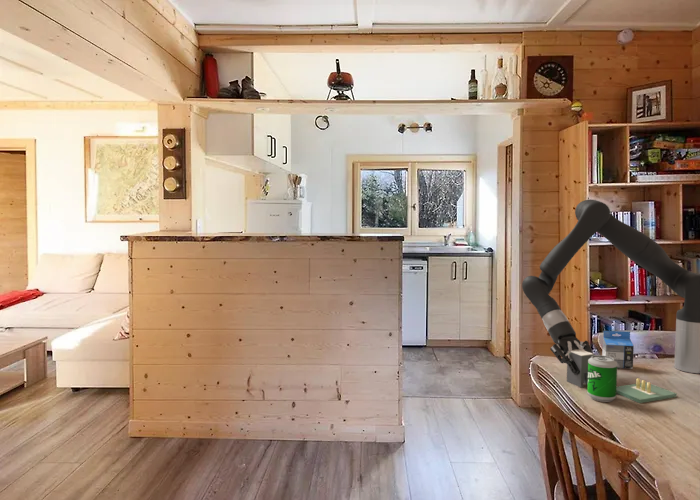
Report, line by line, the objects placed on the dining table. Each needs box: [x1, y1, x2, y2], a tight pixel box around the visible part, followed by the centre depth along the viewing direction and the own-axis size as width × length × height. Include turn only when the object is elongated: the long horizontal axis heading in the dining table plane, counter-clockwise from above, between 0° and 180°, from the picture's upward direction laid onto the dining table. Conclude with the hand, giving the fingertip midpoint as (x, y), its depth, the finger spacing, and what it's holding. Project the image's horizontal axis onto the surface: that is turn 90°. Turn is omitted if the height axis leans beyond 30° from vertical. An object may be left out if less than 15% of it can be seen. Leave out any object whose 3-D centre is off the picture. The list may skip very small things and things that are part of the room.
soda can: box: [586, 354, 618, 403], centre depth 138 cm, size 8×8×12 cm
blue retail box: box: [601, 330, 635, 370], centre depth 166 cm, size 9×4×12 cm, turn 77°
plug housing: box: [566, 349, 595, 389], centre depth 150 cm, size 5×6×10 cm
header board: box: [616, 377, 678, 404], centre depth 141 cm, size 14×10×4 cm
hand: (584, 372), depth 148 cm, fingers closed on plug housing, 5 cm apart
